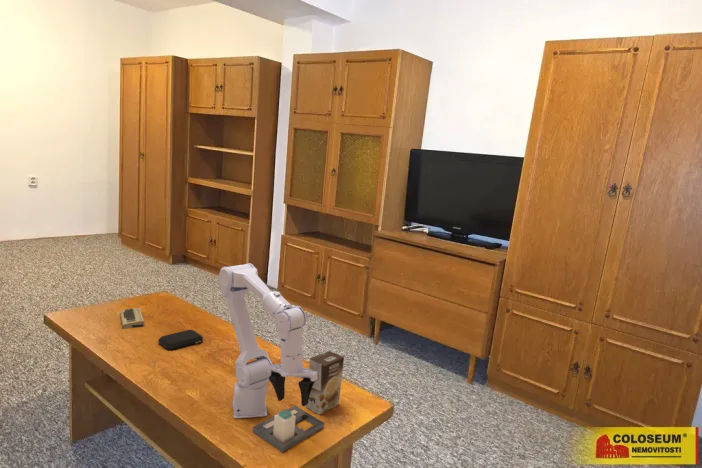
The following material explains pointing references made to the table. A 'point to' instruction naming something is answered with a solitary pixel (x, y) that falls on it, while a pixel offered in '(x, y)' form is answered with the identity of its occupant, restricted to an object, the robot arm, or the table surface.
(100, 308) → the table surface
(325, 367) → the coffee box
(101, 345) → the table surface
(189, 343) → the carrying case or bag
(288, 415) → the plug
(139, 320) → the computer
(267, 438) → the panel
